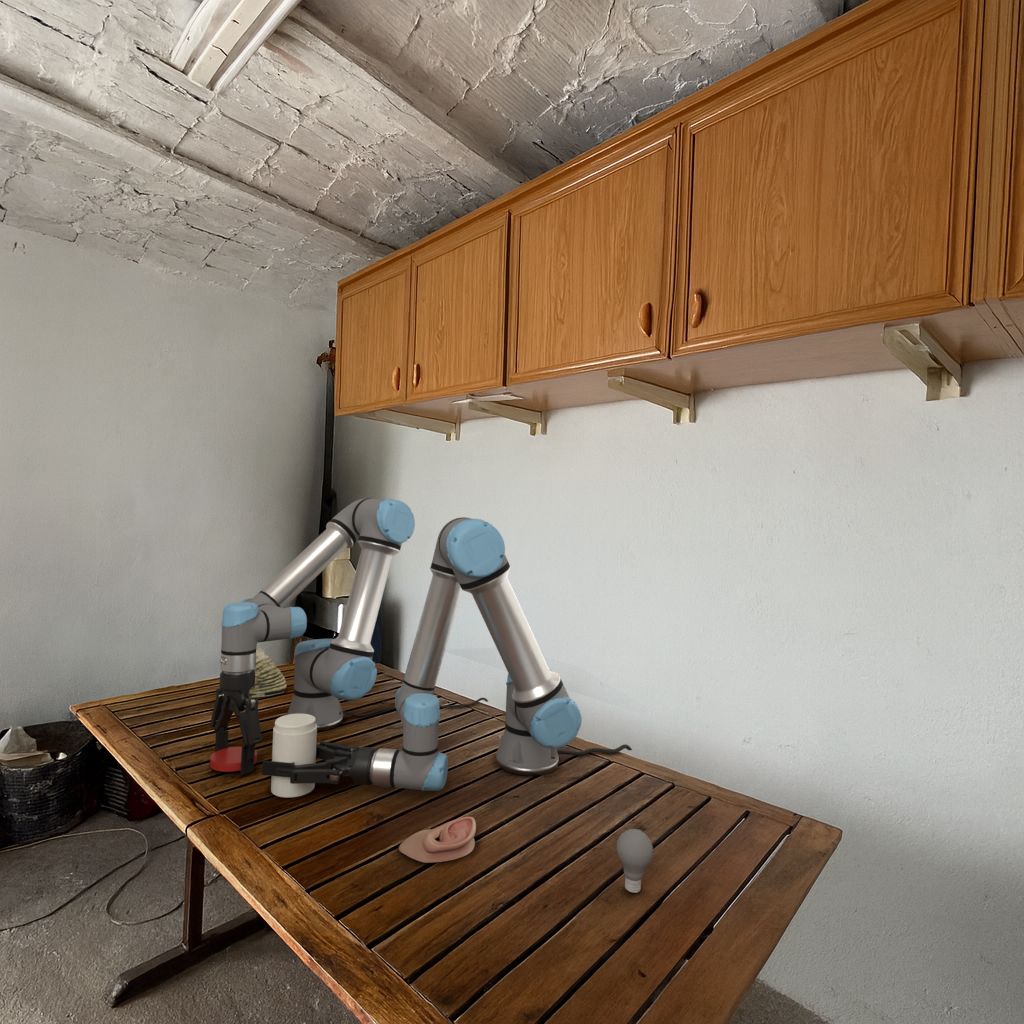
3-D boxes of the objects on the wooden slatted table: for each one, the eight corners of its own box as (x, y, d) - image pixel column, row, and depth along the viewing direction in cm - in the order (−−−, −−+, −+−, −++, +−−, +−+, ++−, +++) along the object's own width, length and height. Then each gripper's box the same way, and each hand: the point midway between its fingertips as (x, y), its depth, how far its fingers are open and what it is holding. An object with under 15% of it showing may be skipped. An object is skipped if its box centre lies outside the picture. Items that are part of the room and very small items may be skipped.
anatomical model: (392, 835, 112) (415, 805, 123) (391, 857, 112) (414, 825, 123) (465, 847, 109) (481, 815, 121) (464, 869, 109) (480, 835, 121)
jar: (270, 781, 140) (272, 714, 139) (313, 776, 143) (315, 711, 143) (271, 800, 131) (274, 729, 131) (316, 794, 135) (319, 725, 134)
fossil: (218, 695, 195) (220, 647, 195) (278, 685, 208) (279, 640, 207) (228, 703, 189) (230, 653, 188) (289, 692, 201) (290, 645, 201)
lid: (226, 775, 139) (227, 767, 139) (200, 763, 145) (201, 756, 145) (265, 761, 148) (266, 753, 148) (239, 750, 153) (240, 743, 153)
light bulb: (610, 879, 108) (613, 822, 108) (644, 879, 109) (647, 822, 109) (619, 902, 102) (622, 840, 102) (655, 901, 103) (658, 840, 103)
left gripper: (196, 663, 150) (192, 756, 150) (250, 684, 136) (246, 786, 136) (226, 658, 156) (222, 748, 156) (281, 677, 142) (277, 775, 142)
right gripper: (357, 808, 125) (247, 798, 127) (388, 763, 146) (295, 755, 148) (358, 770, 125) (249, 761, 127) (390, 731, 146) (296, 723, 148)
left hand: (233, 766), depth 146 cm, fingers open, 10 cm apart
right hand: (274, 758), depth 138 cm, fingers closed on jar, 9 cm apart
